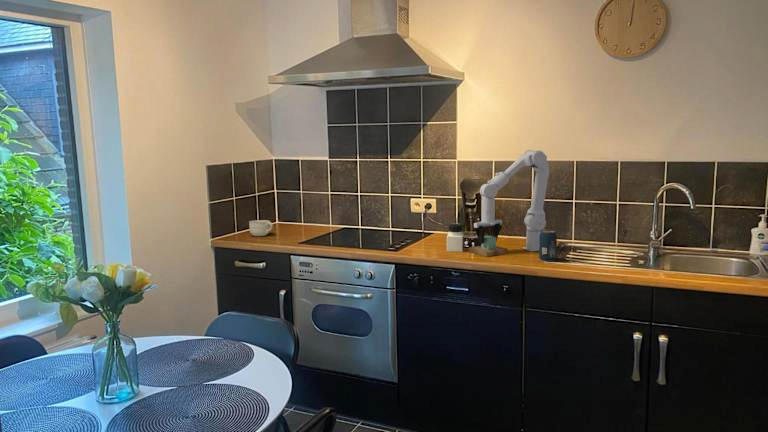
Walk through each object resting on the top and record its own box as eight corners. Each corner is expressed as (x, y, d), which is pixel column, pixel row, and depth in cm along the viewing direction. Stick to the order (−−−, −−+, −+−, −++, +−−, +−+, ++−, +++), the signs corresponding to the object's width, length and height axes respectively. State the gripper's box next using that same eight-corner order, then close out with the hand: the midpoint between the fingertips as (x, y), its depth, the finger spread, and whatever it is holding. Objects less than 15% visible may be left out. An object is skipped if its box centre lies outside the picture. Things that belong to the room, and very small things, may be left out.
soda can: (543, 257, 252) (543, 229, 251) (559, 259, 248) (559, 230, 246) (536, 260, 247) (536, 231, 245) (552, 262, 243) (552, 233, 241)
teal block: (489, 246, 266) (489, 235, 265) (496, 248, 262) (496, 237, 262) (481, 248, 264) (481, 236, 263) (488, 249, 260) (488, 238, 259)
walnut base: (488, 248, 272) (488, 244, 272) (507, 253, 262) (507, 248, 262) (468, 252, 266) (468, 247, 265) (486, 256, 256) (486, 252, 255)
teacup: (245, 236, 317) (244, 221, 315) (262, 233, 325) (261, 218, 324) (262, 238, 308) (261, 223, 306) (278, 235, 316) (278, 220, 315)
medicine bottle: (462, 252, 266) (462, 225, 264) (446, 251, 267) (446, 225, 266) (464, 248, 273) (464, 222, 271) (448, 248, 274) (448, 222, 272)
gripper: (481, 214, 254) (481, 245, 256) (506, 211, 262) (506, 241, 264) (470, 212, 260) (470, 243, 262) (495, 209, 267) (495, 239, 269)
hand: (487, 242), depth 263 cm, fingers open, 7 cm apart
